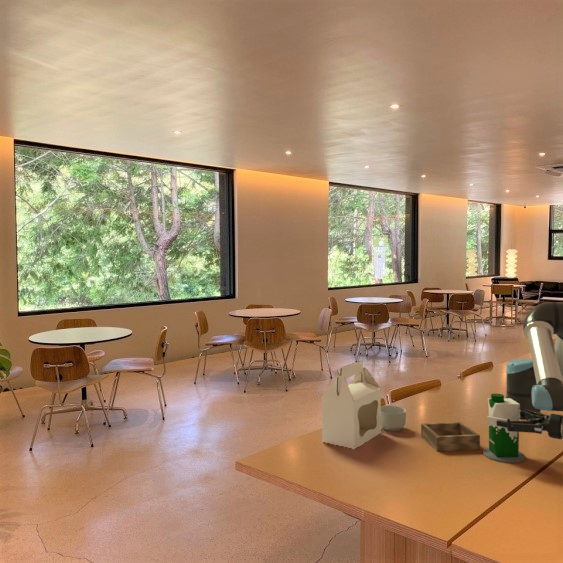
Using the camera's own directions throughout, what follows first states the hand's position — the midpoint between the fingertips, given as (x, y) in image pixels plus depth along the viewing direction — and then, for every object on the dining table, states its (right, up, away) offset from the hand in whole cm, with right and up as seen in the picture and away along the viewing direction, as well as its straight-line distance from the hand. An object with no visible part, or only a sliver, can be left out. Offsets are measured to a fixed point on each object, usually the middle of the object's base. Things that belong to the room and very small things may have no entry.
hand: (493, 415), depth 177 cm
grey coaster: (+3, -13, -2) cm, 13 cm away
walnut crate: (-12, -13, +11) cm, 21 cm away
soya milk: (+3, -13, -2) cm, 13 cm away
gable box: (-46, -13, +18) cm, 51 cm away
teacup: (-30, -13, +29) cm, 44 cm away
